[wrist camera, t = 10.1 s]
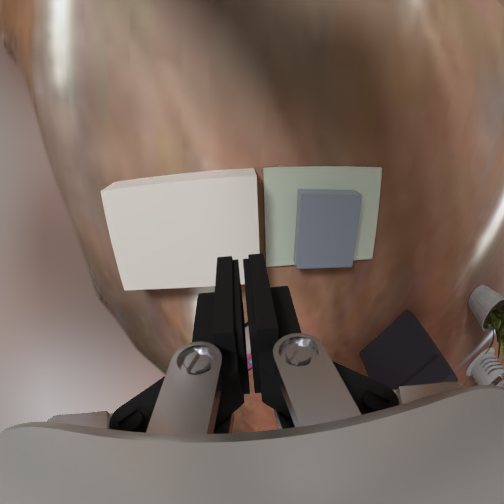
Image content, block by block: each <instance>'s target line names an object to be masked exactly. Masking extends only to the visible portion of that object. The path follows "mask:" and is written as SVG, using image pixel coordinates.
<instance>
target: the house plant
mask: <svg viewBox="0 0 504 504" xmlns="http://www.w3.org/2000/svg"><path fill="white" fill-rule="evenodd" d="M468 306H469V307H470V309H471V311H472V312H473V314H474V316H475V317H476V319H477V321H478V322H479V324H480V326H481V328H482V330H483V331H485V332H488V331H490V330H492V329H493V340H494V329H495V331H496V334H497V342H499V350H498V358H499V353H500V345H502V352H503V357H504V297H503V296H501V295H500V294H498V293H497V292H495V291H493V290H492V289H490V288H489V287H487V286H485V285H480V286H478V287H477V288H476V289H475V290H474V291H473V292H472V294H471V295H470V297H469V300H468ZM493 340H492V343H493ZM492 343H491V345H490V347H489V349H488V350H487V351H486V352H485V353H483V354H486V353H487V352H488V351H489V350H490V348H491V346H492ZM497 361H498V359H497Z"/></svg>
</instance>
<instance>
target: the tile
mask: <svg viewBox="0 0 504 504" xmlns="http://www.w3.org/2000/svg"><path fill="white" fill-rule="evenodd" d="M361 203H362V194H360V193H359V192H358V191H356V190H335V189H298V191H297V211H296V228H295V244H294V258H293V261H294V264H295V267H296V269H310V268H336V267H352V264H353V258H354V252H355V246H356V239H357V233H358V226H359V218H360V211H361Z"/></svg>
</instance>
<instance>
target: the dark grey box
mask: <svg viewBox="0 0 504 504" xmlns="http://www.w3.org/2000/svg"><path fill="white" fill-rule="evenodd" d="M360 357H361V359H362V361H363V363H364V366H365V368H366V370H367V373H368V375H369V377H370V379H373V380H375V381H377V382H380V383H382V384H384V385H386V386H388V387H389V388H391V389H392V390H397V389H398V387H399V386H411V385H423V384H433V383H442V382H457V381H458V378H457V377H456V375H455V373H454V372H453V370H452V369H451V367H450V366H449V364H448V363H447V361H446V360H445V358H444V357H443V355H442V354H441V352H440V351H439V349H438V348H437V346H436V345H435V343H434V342H433V341H432V339H431V338H430V336H429V335H428V333H427V332H426V331H425V329H424V328H423V326H422V325H421V324H420V322H419V321H418V319H417V318H416V317H415V316H414V315H413V314H412V313H411V312H409V311H408V310H406V311H405V312H404V313H403V314H402V315H401V316H400V317H399V318H397V319H396V320H395V321H394V322H393V323H392V324H391V325H390V326H389V327H388V328H387V329H386V330H385V331H384V332H383V333H382V334H381V335H379V336H378V337H377V338H376V339H375V340H374V341H373V342H372V343H371V344H369V345H368V346H367V347H366V348H365V349H364V350H363V351H361V352H360Z"/></svg>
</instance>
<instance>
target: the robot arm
mask: <svg viewBox="0 0 504 504" xmlns="http://www.w3.org/2000/svg"><path fill="white" fill-rule="evenodd" d="M243 267H244V279H245V291H246V303H247V315H248V327H249V337H250V348H251V358H252V368H253V378H254V388H255V393H261V394H262V401H263V403H265V404H267V405H268V406H270V407H271V408H273V409H274V414H275V417H276V420H277V423H278V426H279V429H278V430H269V431H258V432H246V433H232V430H233V423H234V412H235V411H236V410H237V409H238V408H239V407H240V406H241V405H242V404H243V403H244V394H250V389H249V376H248V363H247V349H246V336H245V322H244V312H243V302H242V292H241V283H240V273H239V262H238V259H237V260H233V259H232V256H226V257H217V267H216V282H215V292H212V293H199V294H198V300H197V307H196V315H195V323H194V331H193V339H192V343H188V344H186V345H184V346H182V347H180V348H179V349H178V350H177V351H176V352H175V353H174V355H173V357H172V359H171V362H170V365H169V367H168V370H167V373H166V376H164V377H163V378H162V379H160V380H159V381H157V382H156V383H155V384H153V385H152V386H150V387H149V388H147V389H146V390H145V391H143V392H141V393H140V394H139V395H137V396H136V397H134V398H133V399H131V400H130V401H128V402H127V403H126V404H124V405H122V406H121V407H119V408H118V409H117V410H116V411H115V412H114V413H113V414H109V413H108V412H107V411H102V412H93V413H81V414H66V415H57V416H53V417H52V418H50V419H49V420H48V421H47V422H30V423H24V424H18V425H15V426H12V427H9V428H7V429H5V430H4V431H2V432H1V433H0V504H504V387H500V386H493V385H475V386H467V387H463V386H462V385H460V384H458V383H456V382H442V383H433V384H423V385H411V386H399V387H398V389H397V390H392V389H391V388H389V387H388V386H386V385H384V384H382V383H380V382H377V381H375V380H373V379H370V378H368V377H366V376H364V375H362V374H359V373H357V372H355V371H353V370H351V369H348V368H346V367H344V366H342V365H340V364H338V363H335V362H333V361H332V360H331V358H330V357H329V355H328V353H327V351H326V349H325V348H324V346H323V344H322V343H321V342H320V341H319V340H318V339H317V338H315V337H314V336H311V335H308V334H304V333H301V330H300V326H299V323H298V319H297V316H296V312H295V309H294V305H293V302H292V298H291V295H290V291H289V288H288V286H281V287H271V288H270V285H269V280H268V275H267V270H266V265H265V260H264V255H263V253H261V254H249V255H248V259H243Z"/></svg>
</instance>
